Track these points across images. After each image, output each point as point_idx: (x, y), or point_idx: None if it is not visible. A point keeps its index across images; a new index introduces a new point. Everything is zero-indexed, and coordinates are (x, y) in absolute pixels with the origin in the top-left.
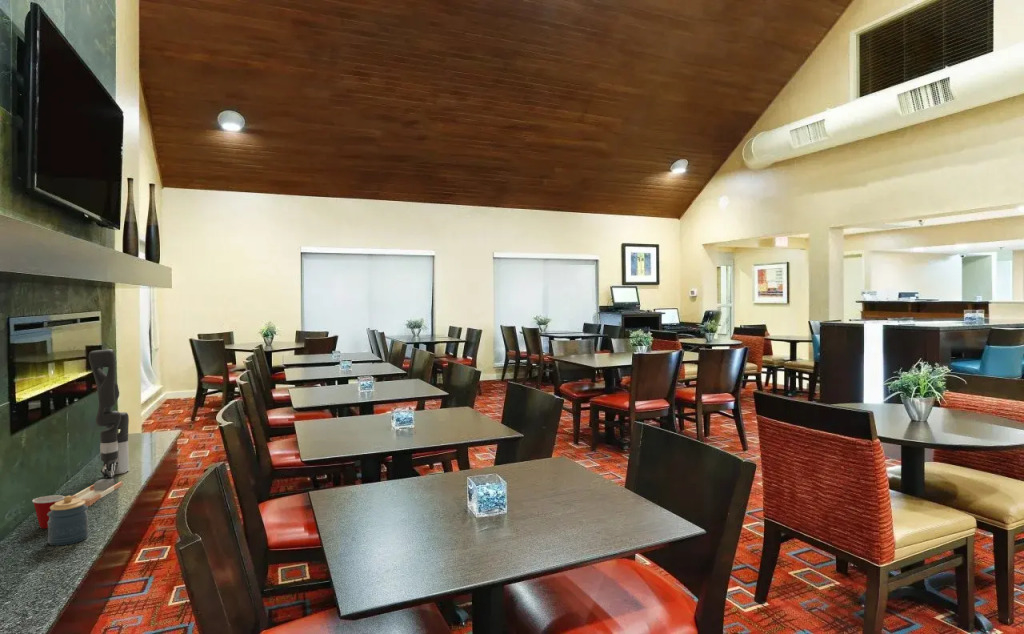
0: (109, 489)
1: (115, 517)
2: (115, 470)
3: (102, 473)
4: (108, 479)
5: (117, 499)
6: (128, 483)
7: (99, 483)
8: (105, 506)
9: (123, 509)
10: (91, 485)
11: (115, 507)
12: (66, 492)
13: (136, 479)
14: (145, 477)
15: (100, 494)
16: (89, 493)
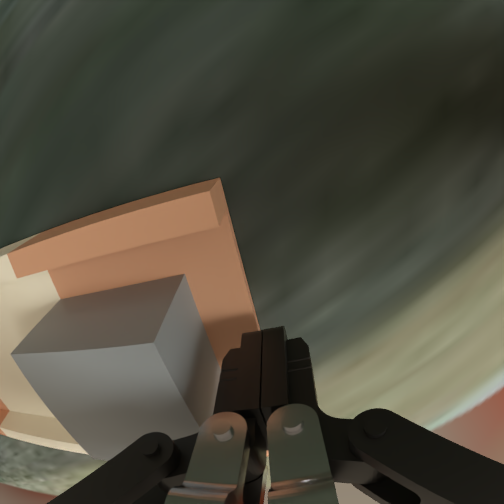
0: (78, 449)
1: (3, 478)
2: (388, 490)
3: (67, 496)
4: (179, 436)
5: (64, 469)
6: (371, 401)
7: (48, 397)
8: (6, 450)
9: (33, 488)
10: (61, 234)
11: (25, 473)
12: (26, 4)
13: (473, 372)
14: (497, 387)
15: (6, 435)
16: (8, 306)
